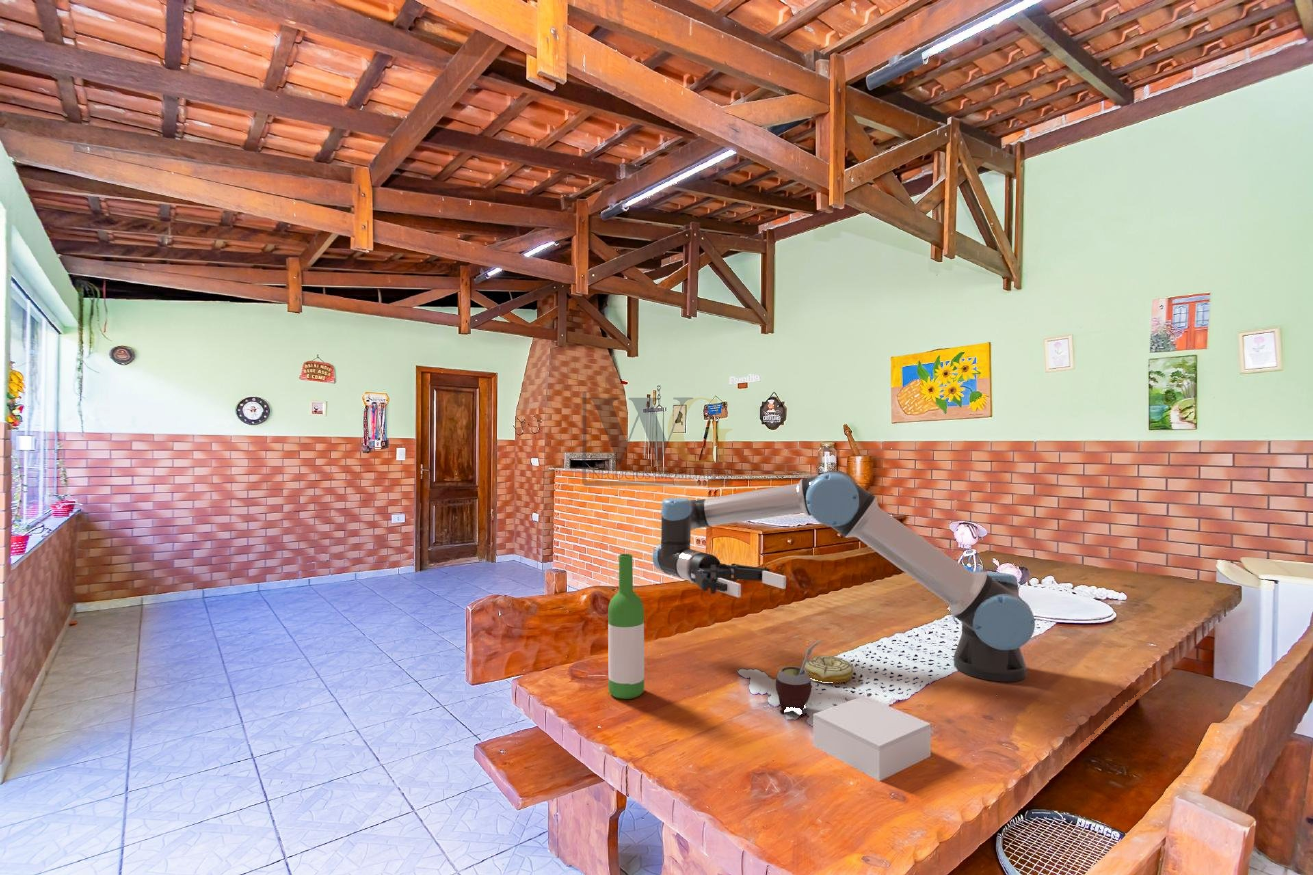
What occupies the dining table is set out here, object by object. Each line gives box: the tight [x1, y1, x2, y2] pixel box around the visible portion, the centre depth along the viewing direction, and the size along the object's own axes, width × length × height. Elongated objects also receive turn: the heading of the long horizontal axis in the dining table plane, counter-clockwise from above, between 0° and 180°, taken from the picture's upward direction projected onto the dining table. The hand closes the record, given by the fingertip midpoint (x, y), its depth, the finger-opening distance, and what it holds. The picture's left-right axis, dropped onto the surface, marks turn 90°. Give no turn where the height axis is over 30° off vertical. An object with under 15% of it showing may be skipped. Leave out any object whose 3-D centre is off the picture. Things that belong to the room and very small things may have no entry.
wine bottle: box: [607, 553, 645, 700], centre depth 136 cm, size 8×8×30 cm
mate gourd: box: [775, 639, 823, 718], centre depth 128 cm, size 8×8×15 cm
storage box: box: [812, 695, 932, 782], centre depth 111 cm, size 14×14×6 cm
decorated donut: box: [804, 655, 854, 684], centre depth 145 cm, size 10×11×4 cm
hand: (762, 586), depth 135 cm, fingers open, 13 cm apart
